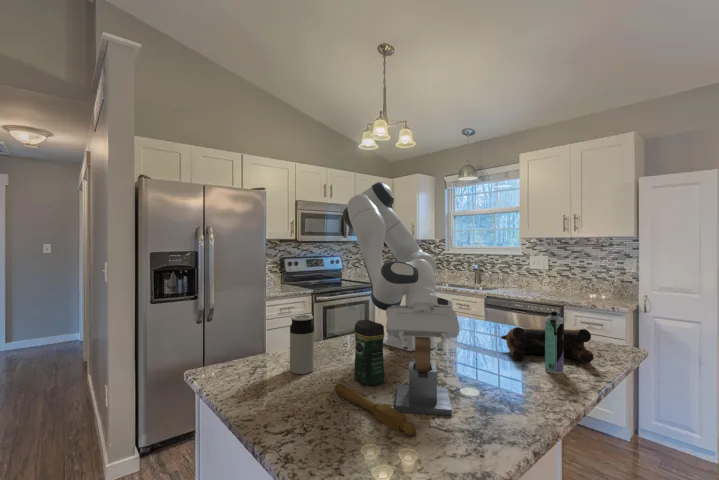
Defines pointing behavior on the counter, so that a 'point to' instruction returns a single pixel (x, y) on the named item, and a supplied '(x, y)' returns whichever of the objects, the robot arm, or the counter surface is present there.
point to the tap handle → (379, 411)
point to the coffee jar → (369, 352)
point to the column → (422, 353)
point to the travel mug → (301, 344)
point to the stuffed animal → (534, 343)
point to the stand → (423, 393)
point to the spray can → (554, 344)
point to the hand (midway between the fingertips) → (422, 349)
